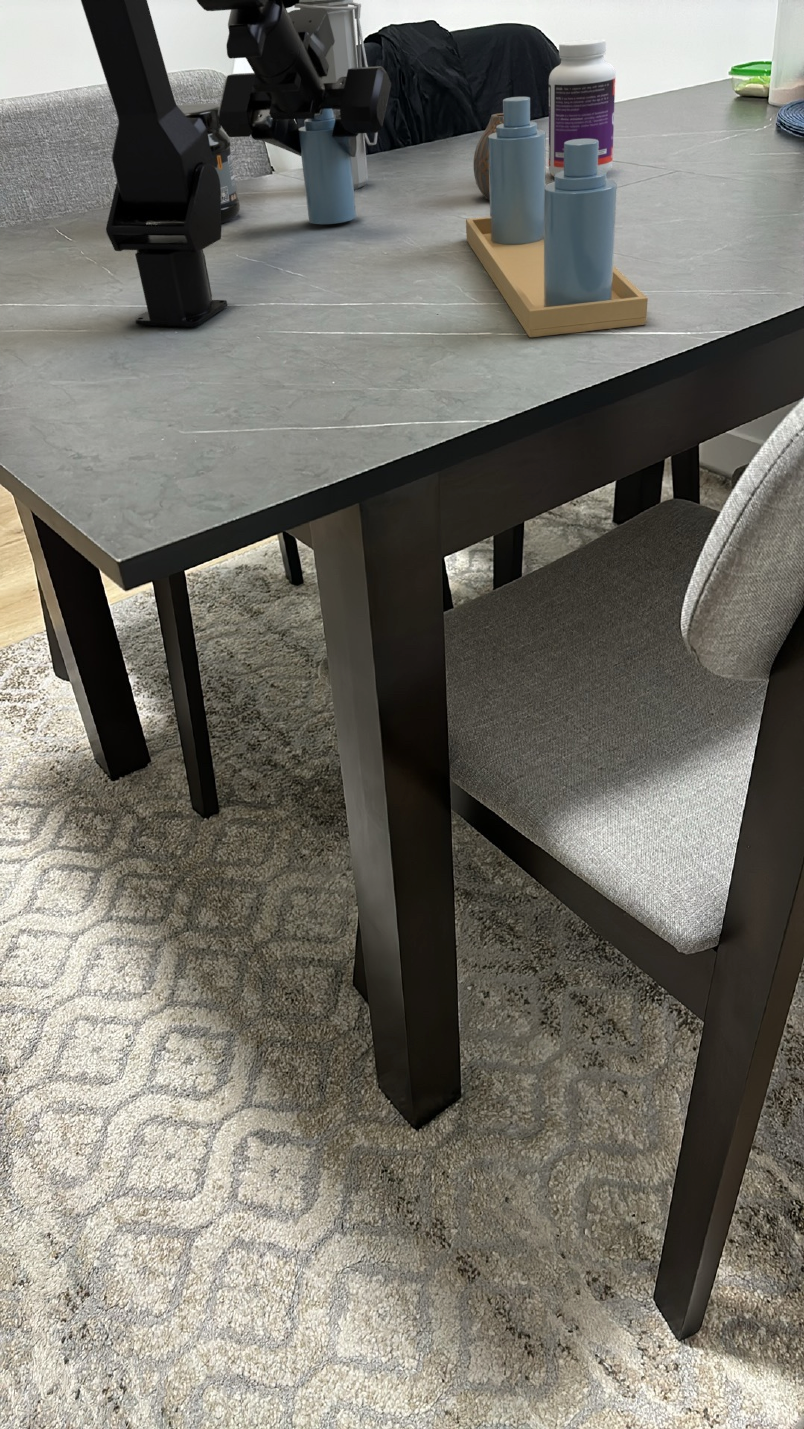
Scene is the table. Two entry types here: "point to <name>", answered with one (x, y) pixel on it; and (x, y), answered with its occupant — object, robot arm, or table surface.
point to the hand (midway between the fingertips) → (331, 153)
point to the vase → (485, 156)
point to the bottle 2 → (579, 229)
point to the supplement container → (217, 156)
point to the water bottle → (345, 63)
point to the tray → (524, 282)
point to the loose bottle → (326, 172)
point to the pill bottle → (581, 101)
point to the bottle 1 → (517, 176)
